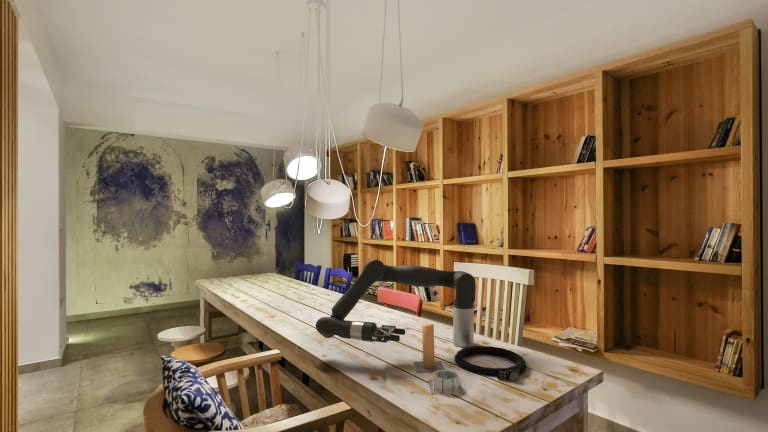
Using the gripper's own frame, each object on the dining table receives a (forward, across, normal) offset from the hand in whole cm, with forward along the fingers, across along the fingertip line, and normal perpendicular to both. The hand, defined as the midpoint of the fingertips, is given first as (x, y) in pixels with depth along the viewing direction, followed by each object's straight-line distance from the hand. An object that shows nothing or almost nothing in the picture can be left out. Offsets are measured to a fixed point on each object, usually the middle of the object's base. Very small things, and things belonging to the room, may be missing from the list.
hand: (402, 335), depth 147 cm
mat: (+11, 0, +12) cm, 16 cm away
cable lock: (+33, +11, +13) cm, 37 cm away
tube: (+10, 0, +11) cm, 15 cm away
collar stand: (+19, -15, +12) cm, 27 cm away
